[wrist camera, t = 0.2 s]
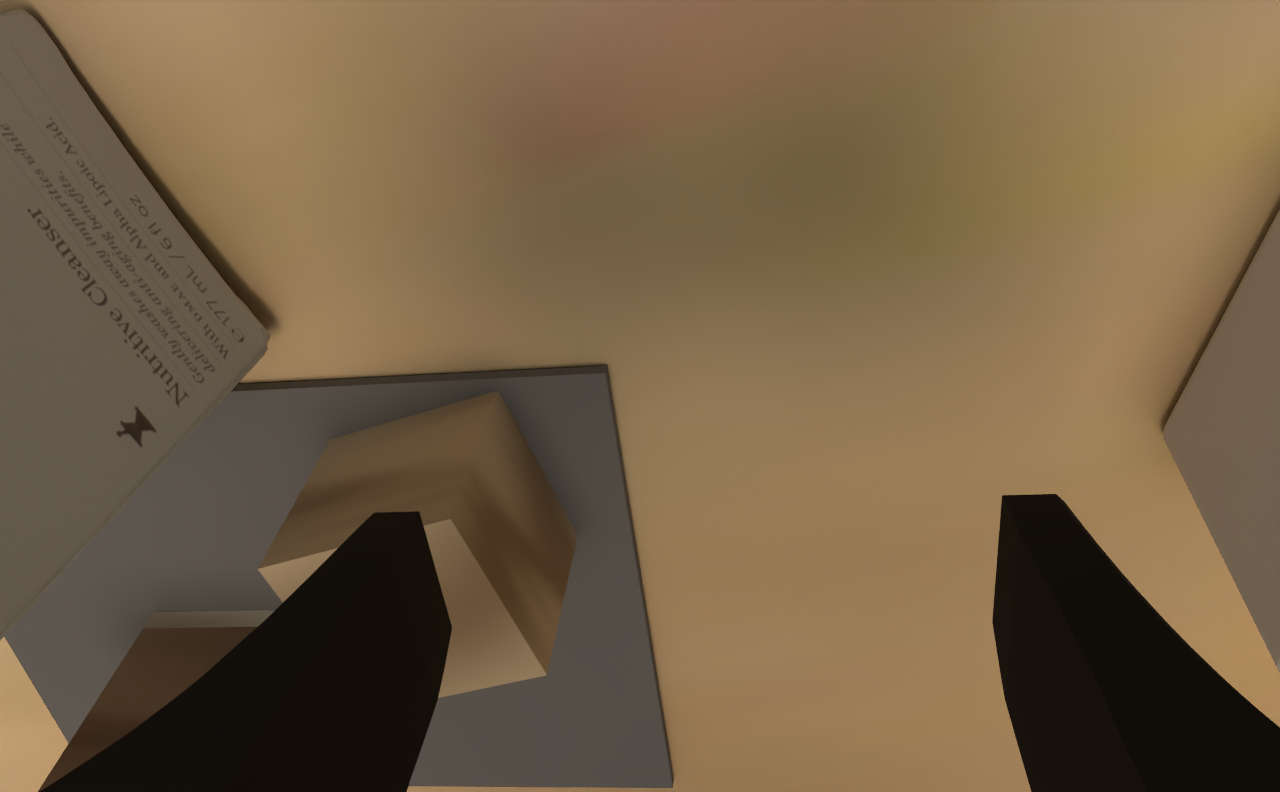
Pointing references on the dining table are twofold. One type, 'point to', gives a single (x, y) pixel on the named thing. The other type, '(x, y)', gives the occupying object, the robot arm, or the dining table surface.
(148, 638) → the walnut block
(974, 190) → the dining table surface
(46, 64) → the skincare box
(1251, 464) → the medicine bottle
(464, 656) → the oak cube
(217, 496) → the felt mat
